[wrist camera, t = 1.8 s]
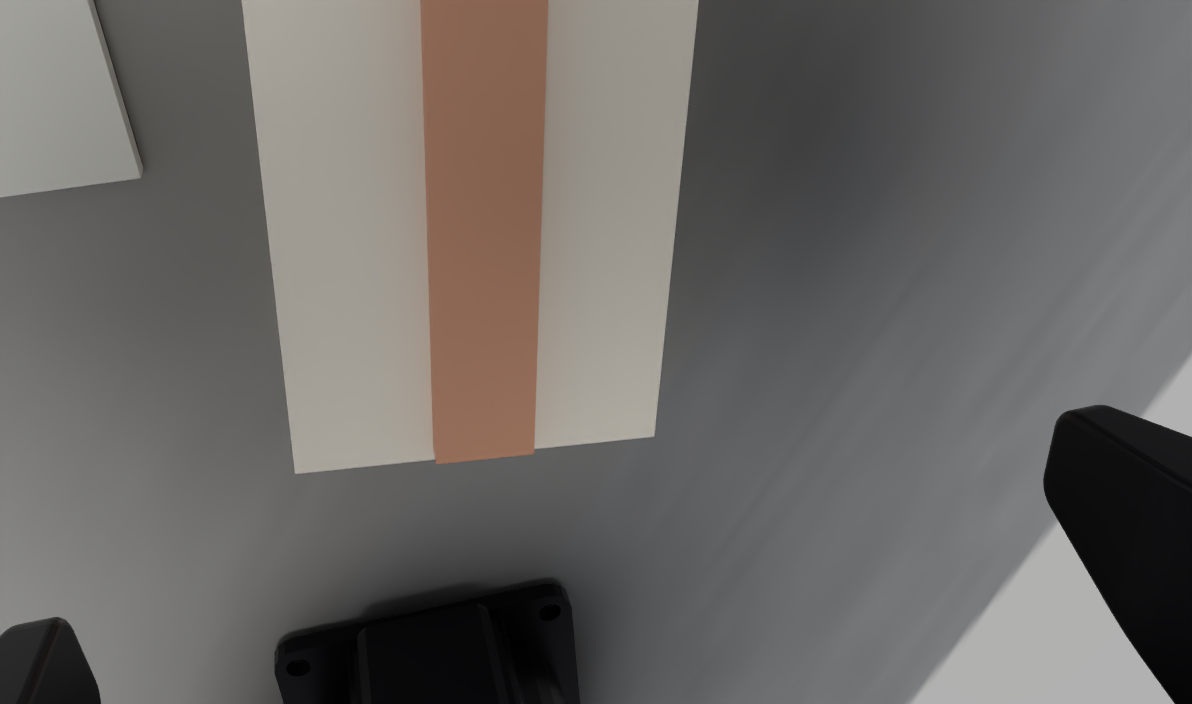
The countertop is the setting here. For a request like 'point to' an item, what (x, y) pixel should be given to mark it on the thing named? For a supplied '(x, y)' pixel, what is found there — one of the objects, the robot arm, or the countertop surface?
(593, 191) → the card box
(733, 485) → the countertop surface
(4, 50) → the mat
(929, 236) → the countertop surface
